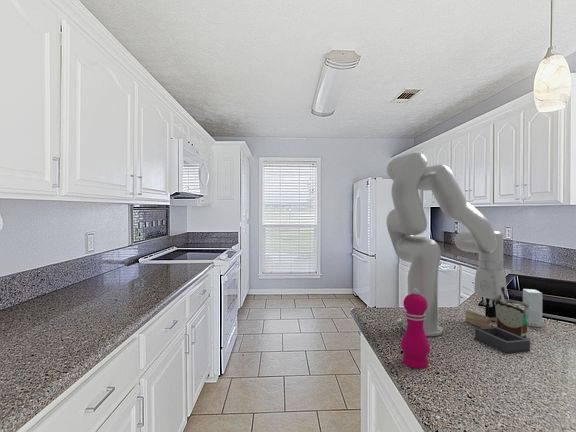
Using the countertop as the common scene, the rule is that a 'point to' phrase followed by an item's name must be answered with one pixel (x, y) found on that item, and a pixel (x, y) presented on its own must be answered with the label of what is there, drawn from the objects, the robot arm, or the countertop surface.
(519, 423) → the countertop surface
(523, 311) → the food container
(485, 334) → the tray
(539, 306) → the skincare box
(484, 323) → the wooden channel
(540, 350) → the countertop surface
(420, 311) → the pepper mill
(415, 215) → the robot arm
